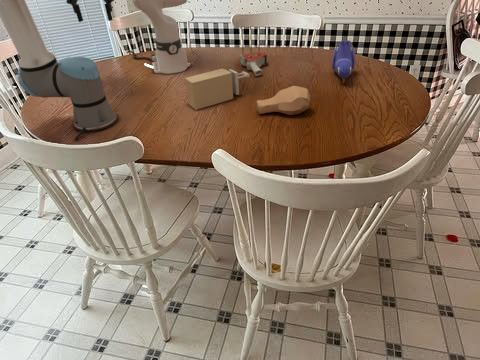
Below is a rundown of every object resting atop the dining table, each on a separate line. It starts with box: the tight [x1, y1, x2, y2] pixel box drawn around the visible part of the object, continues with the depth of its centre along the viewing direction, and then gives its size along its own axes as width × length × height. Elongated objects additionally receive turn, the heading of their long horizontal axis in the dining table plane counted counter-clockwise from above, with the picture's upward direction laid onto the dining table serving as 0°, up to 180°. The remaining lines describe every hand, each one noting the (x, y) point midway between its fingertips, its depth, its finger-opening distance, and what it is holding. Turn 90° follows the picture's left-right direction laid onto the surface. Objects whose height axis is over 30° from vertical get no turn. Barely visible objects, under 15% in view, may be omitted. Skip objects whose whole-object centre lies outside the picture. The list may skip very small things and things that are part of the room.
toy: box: [331, 39, 356, 84], centre depth 153 cm, size 10×17×25 cm
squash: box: [255, 85, 312, 116], centre depth 130 cm, size 11×20×9 cm, turn 92°
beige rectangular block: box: [184, 68, 234, 111], centre depth 140 cm, size 17×7×11 cm, turn 121°
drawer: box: [228, 68, 251, 96], centre depth 143 cm, size 22×5×9 cm, turn 121°
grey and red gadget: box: [239, 51, 268, 77], centre depth 171 cm, size 18×5×20 cm
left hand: (95, 20), depth 154 cm, fingers open, 13 cm apart
